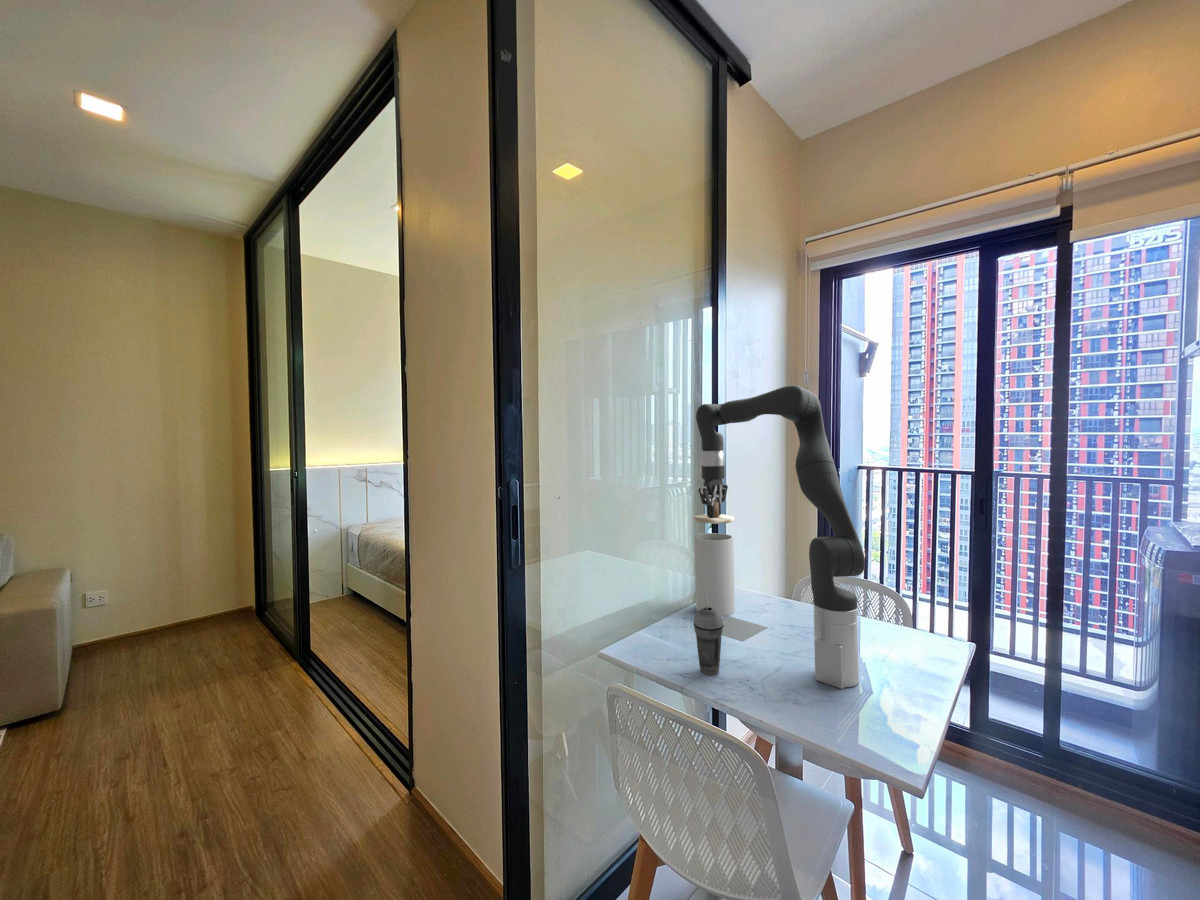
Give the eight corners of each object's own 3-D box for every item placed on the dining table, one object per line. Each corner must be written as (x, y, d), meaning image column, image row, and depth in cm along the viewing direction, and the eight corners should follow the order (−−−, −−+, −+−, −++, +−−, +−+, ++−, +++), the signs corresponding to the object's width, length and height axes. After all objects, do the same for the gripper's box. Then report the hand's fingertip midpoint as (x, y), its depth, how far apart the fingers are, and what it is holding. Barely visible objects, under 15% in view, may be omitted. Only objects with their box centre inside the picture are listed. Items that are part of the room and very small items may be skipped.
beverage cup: (703, 680, 112) (700, 596, 112) (689, 667, 119) (687, 587, 119) (730, 675, 114) (728, 592, 114) (715, 662, 121) (713, 584, 121)
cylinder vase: (711, 602, 167) (709, 531, 167) (742, 611, 157) (740, 536, 157) (688, 611, 159) (686, 536, 159) (719, 621, 149) (717, 542, 149)
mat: (742, 643, 132) (742, 641, 132) (701, 629, 143) (701, 627, 143) (768, 629, 142) (768, 627, 142) (727, 617, 152) (727, 615, 152)
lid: (719, 525, 148) (719, 506, 148) (686, 520, 158) (685, 502, 158) (742, 519, 157) (741, 501, 157) (709, 515, 167) (708, 498, 167)
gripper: (709, 466, 150) (710, 520, 150) (734, 463, 159) (735, 514, 159) (690, 465, 155) (691, 517, 156) (715, 463, 165) (716, 512, 165)
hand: (714, 516), depth 157 cm, fingers closed on lid, 3 cm apart
